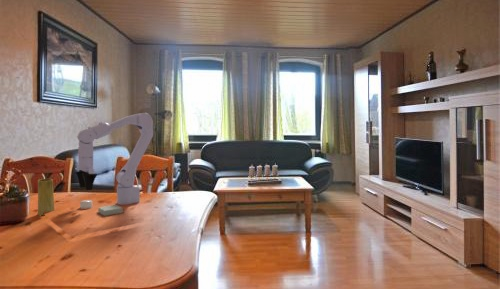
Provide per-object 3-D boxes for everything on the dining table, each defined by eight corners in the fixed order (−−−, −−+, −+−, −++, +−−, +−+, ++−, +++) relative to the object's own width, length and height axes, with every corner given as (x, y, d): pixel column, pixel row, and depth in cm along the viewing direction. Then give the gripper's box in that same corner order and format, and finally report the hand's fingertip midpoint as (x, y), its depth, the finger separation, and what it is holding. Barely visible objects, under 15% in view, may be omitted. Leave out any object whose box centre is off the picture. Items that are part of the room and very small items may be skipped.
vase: (46, 216, 128) (45, 181, 127) (33, 215, 129) (32, 180, 128) (58, 212, 134) (57, 178, 133) (45, 211, 135) (45, 178, 134)
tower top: (115, 209, 134) (115, 204, 134) (122, 212, 129) (122, 207, 129) (98, 212, 129) (98, 207, 129) (104, 215, 124) (104, 210, 124)
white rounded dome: (90, 208, 141) (90, 199, 141) (94, 210, 138) (94, 201, 138) (78, 210, 138) (78, 201, 138) (82, 212, 134) (82, 203, 134)
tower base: (116, 213, 135) (116, 209, 135) (124, 217, 129) (124, 212, 129) (96, 217, 129) (96, 212, 129) (103, 221, 124) (103, 216, 124)
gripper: (70, 156, 139) (70, 187, 140) (81, 159, 129) (81, 192, 129) (87, 155, 144) (87, 185, 144) (99, 158, 134) (99, 190, 134)
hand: (85, 188), depth 137 cm, fingers open, 7 cm apart
